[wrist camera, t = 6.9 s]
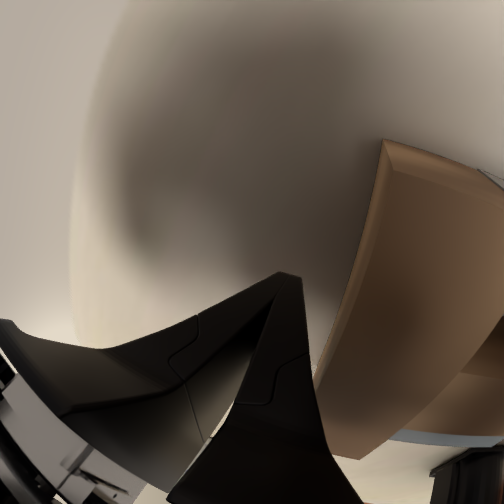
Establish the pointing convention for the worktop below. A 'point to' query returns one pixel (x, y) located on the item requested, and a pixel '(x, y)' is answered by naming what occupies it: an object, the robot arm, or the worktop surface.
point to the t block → (419, 310)
